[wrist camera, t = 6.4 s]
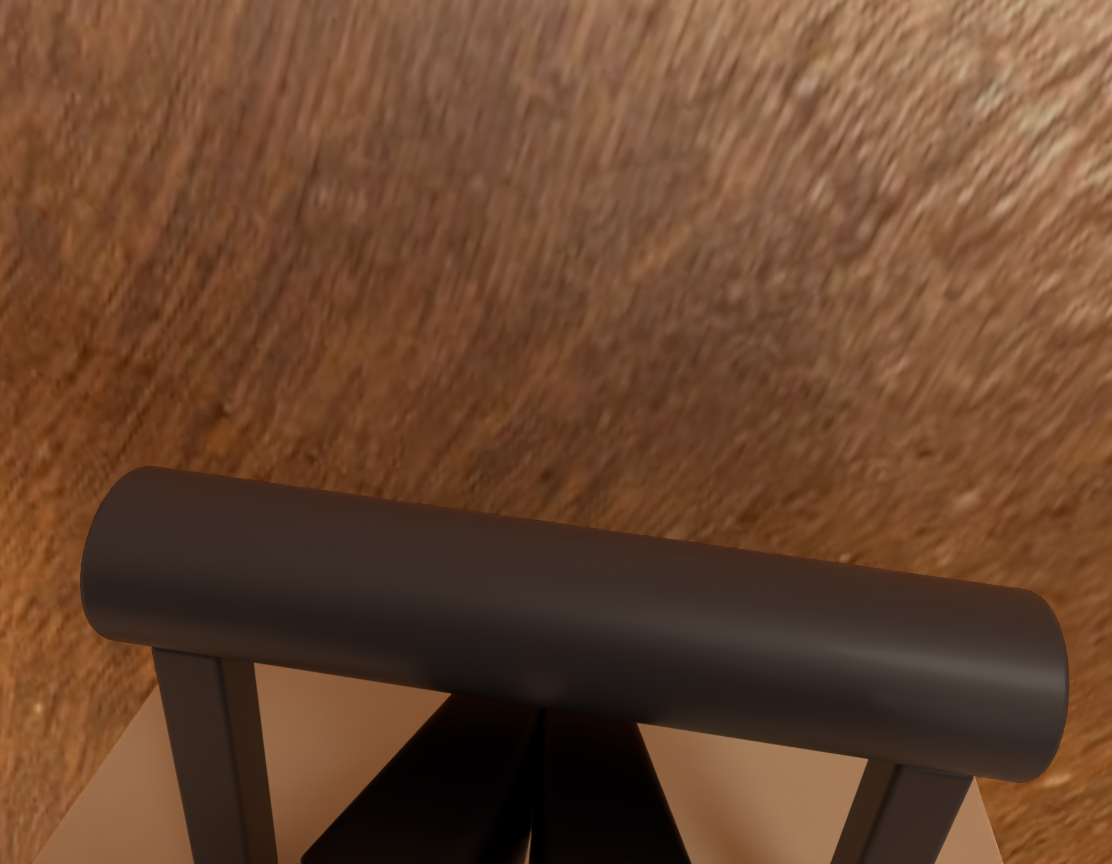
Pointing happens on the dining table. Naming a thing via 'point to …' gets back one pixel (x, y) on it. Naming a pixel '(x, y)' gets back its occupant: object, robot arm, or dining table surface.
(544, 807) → the robot arm
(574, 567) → the drawer
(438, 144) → the dining table surface
